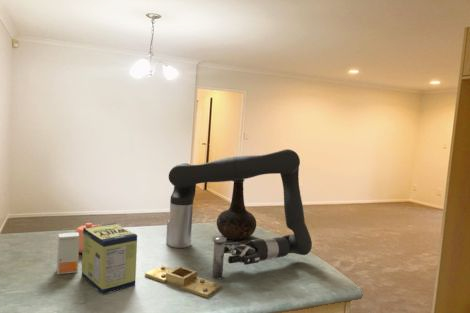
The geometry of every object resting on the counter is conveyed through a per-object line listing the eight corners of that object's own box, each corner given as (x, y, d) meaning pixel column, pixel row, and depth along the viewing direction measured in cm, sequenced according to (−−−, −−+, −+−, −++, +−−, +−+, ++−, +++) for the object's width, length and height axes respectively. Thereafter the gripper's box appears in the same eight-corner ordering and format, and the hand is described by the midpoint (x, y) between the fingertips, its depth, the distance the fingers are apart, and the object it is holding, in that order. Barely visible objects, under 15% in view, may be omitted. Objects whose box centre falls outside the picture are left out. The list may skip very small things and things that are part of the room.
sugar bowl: (62, 252, 128) (62, 224, 127) (91, 241, 141) (92, 216, 140) (88, 258, 123) (89, 230, 122) (115, 247, 136) (116, 221, 135)
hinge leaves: (145, 276, 112) (145, 267, 112) (161, 268, 119) (162, 259, 118) (207, 298, 100) (207, 287, 100) (221, 287, 107) (222, 278, 107)
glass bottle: (258, 234, 165) (262, 175, 163) (251, 246, 148) (256, 180, 146) (221, 229, 169) (225, 172, 167) (210, 240, 152) (214, 176, 150)
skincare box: (56, 275, 108) (58, 237, 107) (56, 269, 112) (57, 233, 111) (78, 272, 111) (79, 235, 110) (77, 267, 115) (78, 231, 114)
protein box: (112, 268, 116) (114, 222, 115) (136, 285, 105) (138, 234, 104) (80, 276, 109) (82, 227, 108) (102, 295, 98) (104, 241, 97)
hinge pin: (207, 277, 114) (210, 238, 113) (215, 272, 118) (217, 235, 117) (219, 280, 112) (221, 241, 111) (226, 276, 116) (228, 237, 115)
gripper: (252, 233, 129) (213, 237, 121) (275, 245, 117) (234, 251, 109) (250, 253, 130) (211, 258, 122) (274, 267, 118) (232, 274, 110)
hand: (222, 255), depth 115 cm, fingers open, 8 cm apart
